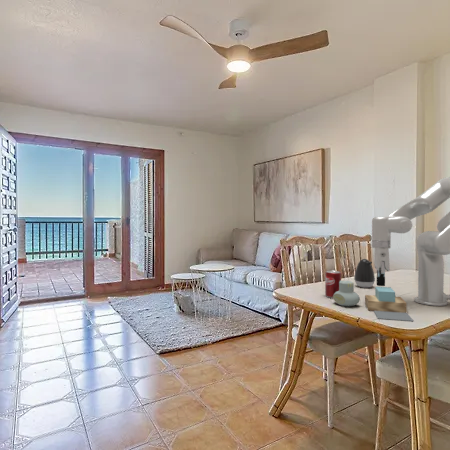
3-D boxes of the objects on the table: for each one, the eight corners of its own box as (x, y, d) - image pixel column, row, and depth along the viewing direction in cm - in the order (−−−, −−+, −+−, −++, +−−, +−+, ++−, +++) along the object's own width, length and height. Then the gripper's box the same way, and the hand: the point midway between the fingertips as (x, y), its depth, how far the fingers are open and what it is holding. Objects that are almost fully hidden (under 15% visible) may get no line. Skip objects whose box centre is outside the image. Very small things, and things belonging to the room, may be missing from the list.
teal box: (390, 296, 139) (390, 287, 139) (395, 302, 131) (395, 292, 130) (375, 295, 141) (375, 286, 141) (378, 301, 132) (378, 291, 132)
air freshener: (330, 302, 145) (330, 280, 145) (344, 300, 149) (344, 278, 148) (348, 309, 135) (348, 285, 135) (363, 306, 139) (363, 283, 138)
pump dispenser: (363, 289, 170) (363, 260, 169) (350, 285, 180) (350, 258, 179) (379, 288, 172) (379, 259, 172) (366, 284, 182) (366, 257, 182)
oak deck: (400, 306, 139) (400, 296, 139) (406, 313, 129) (406, 303, 129) (365, 304, 143) (365, 294, 143) (368, 310, 133) (368, 300, 133)
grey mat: (406, 313, 129) (406, 312, 129) (413, 321, 119) (413, 320, 119) (373, 311, 132) (373, 310, 132) (377, 318, 122) (377, 318, 122)
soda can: (330, 299, 152) (330, 273, 151) (322, 295, 159) (322, 270, 158) (344, 298, 153) (344, 272, 153) (336, 294, 160) (336, 270, 160)
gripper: (393, 246, 136) (393, 289, 137) (387, 243, 150) (386, 282, 151) (374, 246, 138) (374, 288, 139) (369, 243, 153) (369, 281, 153)
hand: (380, 285), depth 145 cm, fingers closed
